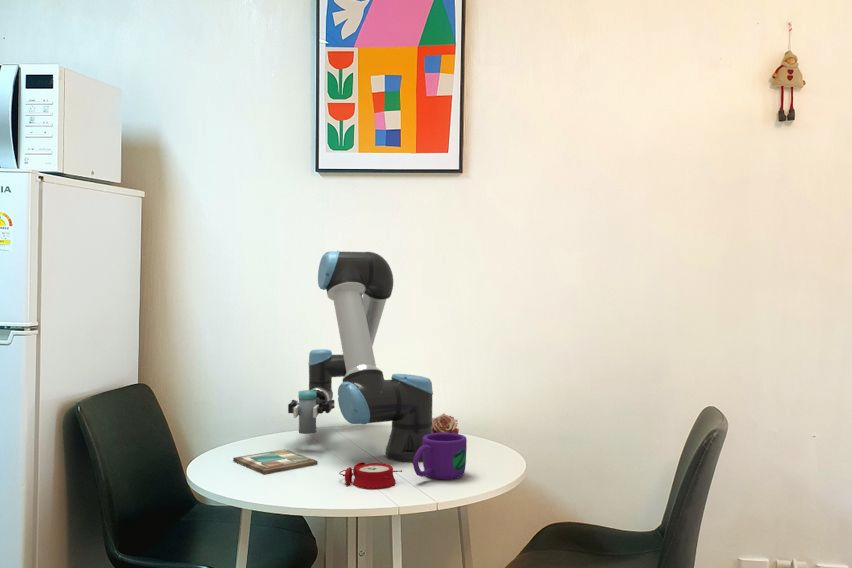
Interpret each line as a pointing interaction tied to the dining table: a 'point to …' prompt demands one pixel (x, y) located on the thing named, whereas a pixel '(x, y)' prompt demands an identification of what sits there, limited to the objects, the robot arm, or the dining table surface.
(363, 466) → the alarm clock
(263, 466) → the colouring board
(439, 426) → the flower
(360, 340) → the robot arm
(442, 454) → the mug
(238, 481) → the dining table surface
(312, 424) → the grey teal canister
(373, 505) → the dining table surface
